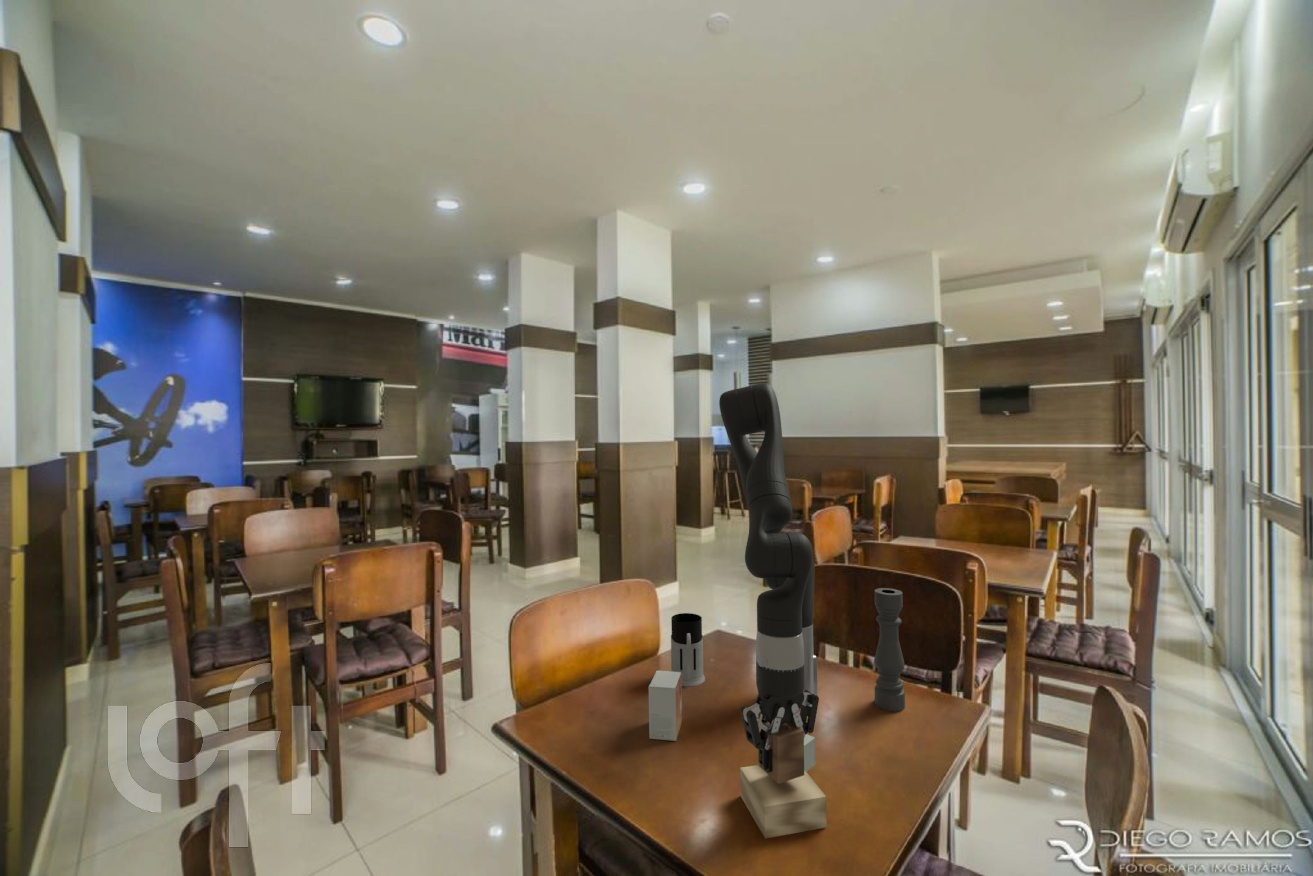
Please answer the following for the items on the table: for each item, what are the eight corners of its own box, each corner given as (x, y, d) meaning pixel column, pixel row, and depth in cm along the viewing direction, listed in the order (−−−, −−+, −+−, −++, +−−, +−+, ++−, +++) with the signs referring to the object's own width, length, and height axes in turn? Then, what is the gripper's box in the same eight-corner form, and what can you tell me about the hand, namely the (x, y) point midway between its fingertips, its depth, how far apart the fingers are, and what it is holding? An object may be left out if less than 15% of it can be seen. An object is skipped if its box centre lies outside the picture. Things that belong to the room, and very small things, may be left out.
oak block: (796, 788, 94) (795, 759, 94) (826, 829, 84) (826, 796, 84) (740, 797, 92) (740, 767, 92) (765, 840, 82) (764, 806, 82)
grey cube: (791, 754, 104) (791, 727, 104) (815, 765, 101) (815, 737, 101) (776, 765, 101) (776, 737, 101) (800, 777, 97) (800, 748, 97)
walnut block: (784, 758, 92) (783, 716, 92) (804, 775, 87) (803, 730, 87) (759, 766, 90) (758, 723, 90) (778, 783, 85) (777, 738, 85)
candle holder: (908, 703, 123) (907, 590, 123) (900, 714, 118) (898, 597, 118) (880, 695, 127) (878, 586, 127) (870, 705, 122) (869, 592, 122)
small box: (676, 742, 109) (675, 688, 109) (648, 739, 110) (647, 686, 110) (682, 721, 116) (682, 671, 116) (656, 719, 118) (656, 669, 118)
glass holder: (703, 670, 142) (702, 612, 141) (709, 696, 127) (708, 631, 127) (669, 671, 141) (668, 612, 141) (671, 697, 127) (670, 632, 127)
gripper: (800, 643, 95) (801, 742, 95) (728, 658, 89) (730, 764, 89) (831, 658, 88) (832, 766, 88) (755, 676, 82) (757, 791, 82)
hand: (781, 764), depth 88 cm, fingers closed on walnut block, 5 cm apart
